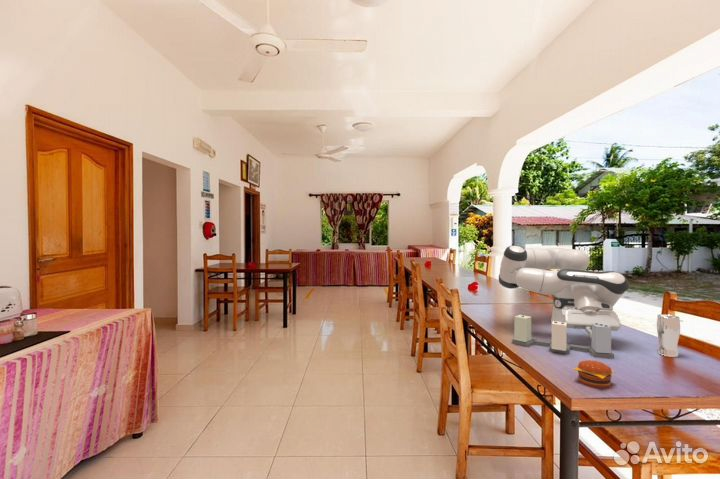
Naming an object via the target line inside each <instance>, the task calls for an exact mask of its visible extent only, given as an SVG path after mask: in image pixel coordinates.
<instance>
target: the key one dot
mask: <svg viewBox="0 0 720 479" xmlns="http://www.w3.org/2000/svg"><path fill="white" fill-rule="evenodd" d="M513 318H514V320H513V321H514V323H513V324H514V325H513V326H514V327H513V328H514V329H513V330H514V333H513V334H514V336H513V339H514V340H518V341H523V342H528V341H530V340H531V338H532V316H529V315H523V314H518V315H515V316H514V317H513Z"/></svg>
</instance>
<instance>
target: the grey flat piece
mask: <svg viewBox="0 0 720 479" xmlns="http://www.w3.org/2000/svg"><path fill="white" fill-rule="evenodd" d="M511 344H514V345H519V346H522V347H526V348H529V347H531V346H534V345H535V346H541V347H547V348H548V347H549V348H548V350H549V352H553V353H560V354H565V355H566V354H567V355H570V352H571V351H574V352H575V351H576V352H577V351H578V352H583V353H588V354H590V356H592V357H593V358H604V359H605V358H606V359H615V354H614V353H613V352H612V351H611V353H598V352H595V351H594V350H593V349H592V345H580V344H579V345H578V344H571V343H567V349H566V351H563V350H556V349H552V340H551V341H550V340H542V339H537V338H535V337H531V340H530V341H528V342H523V341H518V340H514V338H513V339H511Z"/></svg>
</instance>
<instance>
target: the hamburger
mask: <svg viewBox="0 0 720 479" xmlns="http://www.w3.org/2000/svg"><path fill="white" fill-rule="evenodd" d="M573 371H577V373H578V375H577V379H578V381H579V382H580V383H581V384H583V385H586V386H589V387H592V388H596V389H597V388H598V389H606V388H607V389H608V388H611V386H612V374H616V372H615V371H614V370H612V368H611V367H610V366H609V365H607V364H605V363H603V362H602V361H598V360H590V359H589V360H581V361H579V363H578V364H577V366H576V367H575V368H573Z"/></svg>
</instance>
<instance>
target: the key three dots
mask: <svg viewBox="0 0 720 479" xmlns="http://www.w3.org/2000/svg"><path fill="white" fill-rule="evenodd" d="M591 332H592V338H591V346H592V349H593V350H594V351H595V352H598V353H611V352H612V331H611V327H610V326H608V325H607V324H598V323H592V329H591Z"/></svg>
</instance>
